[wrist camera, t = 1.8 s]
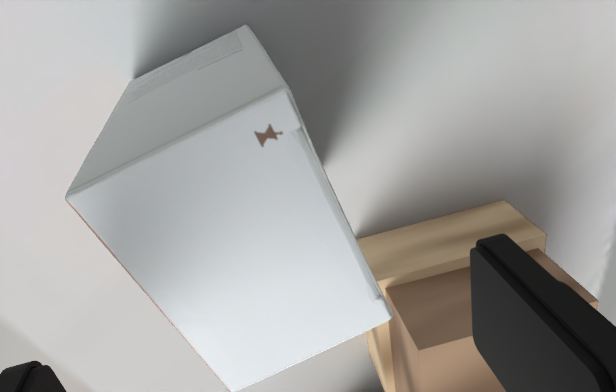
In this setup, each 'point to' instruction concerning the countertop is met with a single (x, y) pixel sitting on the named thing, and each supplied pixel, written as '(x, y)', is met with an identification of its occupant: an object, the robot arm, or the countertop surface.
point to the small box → (228, 213)
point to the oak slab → (435, 258)
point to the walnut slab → (446, 332)
